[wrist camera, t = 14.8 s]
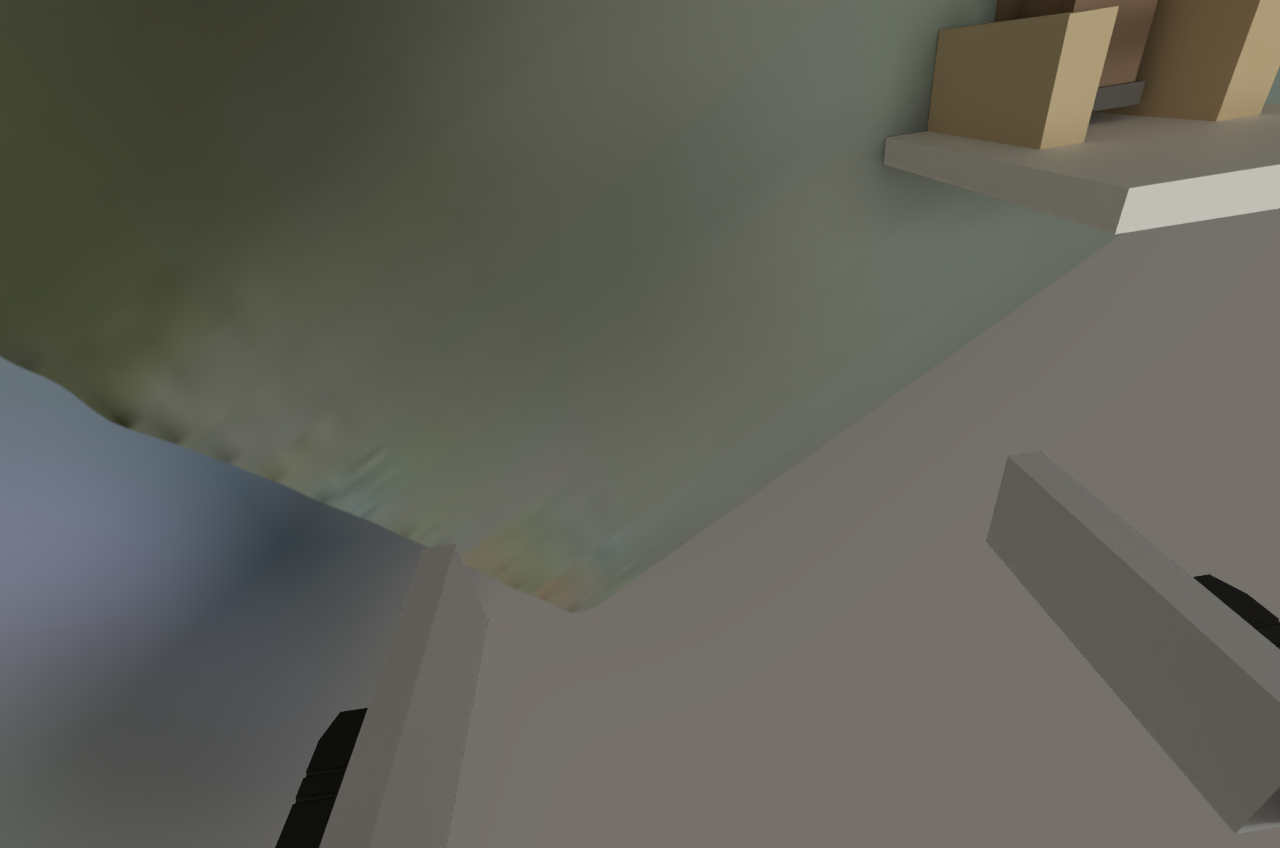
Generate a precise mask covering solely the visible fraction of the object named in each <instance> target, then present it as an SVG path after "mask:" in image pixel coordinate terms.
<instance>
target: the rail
mask: <svg viewBox="0 0 1280 848" xmlns="http://www.w3.org/2000/svg"><path fill="white" fill-rule="evenodd" d="M1157 2H1158V0H998V2H997V8H996V15H995V21H994V22H1001V21H1008V20H1016V19H1024V18H1031V17H1039V16H1046V15H1054V14H1062V13H1069V12H1077V11H1084V10H1092V9H1099V8H1107V7H1115V6H1119V9H1118V12H1117V16H1116V20H1115V24H1114V28H1113V32H1112V36H1111V39H1110V43H1109V47H1108V51H1107V55H1106V59H1105V63H1104V66H1103V70H1102V74H1101V78H1100V82H1099V86H1098V90H1097V93H1096V97H1095V101H1094V105H1093V109H1092V111H1099V110H1105V109H1111V108H1117V107H1124V106H1130V105H1136V104H1139V101H1140V98H1141V95H1142V91H1143V88H1144V84H1145V81H1135V79H1136V75H1137V72H1138V68H1139V65H1140V61H1141V58H1142V54H1143V51H1144V47H1145V44H1146V41H1147V37H1148V34H1149V30H1150V27H1151V23H1152V20H1153V16H1154V13H1155V9H1156V6H1157Z"/></svg>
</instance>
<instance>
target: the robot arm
mask: <svg viewBox="0 0 1280 848" xmlns="http://www.w3.org/2000/svg"><path fill="white" fill-rule="evenodd" d="M986 542H987V543H988V545H989V546H990V547H991V548H992V549H993V550H994V552H996V554H997V555H998V556H999V557H1000V559H1001V560H1002V561H1003V562H1004V563H1005V565H1006V566H1007V567H1008V568H1009V569H1010V570H1011V571H1012V573H1013V574H1014V575H1015V576H1016V577H1017V579H1018V580H1019V581H1020V582H1021V583H1022V584H1023V586H1024V587H1025V588H1026V589H1027V590H1028V591H1029V593H1030V594H1031V595H1032V596H1033V597H1034V599H1035V600H1036V601H1037V602H1038V603H1039V604H1040V606H1041V607H1042V608H1043V609H1044V610H1045V611H1046V613H1047V614H1048V615H1049V616H1050V617H1051V619H1052V620H1053V621H1054V622H1055V623H1056V624H1057V626H1058V627H1059V628H1060V629H1061V630H1062V631H1063V633H1064V634H1065V635H1066V636H1067V637H1068V638H1069V640H1070V641H1071V642H1072V643H1073V644H1074V645H1075V647H1076V648H1077V649H1078V650H1079V651H1080V653H1081V654H1082V655H1083V656H1084V657H1085V658H1086V660H1087V661H1088V662H1089V663H1090V664H1091V665H1092V666H1093V668H1094V669H1095V670H1096V671H1097V672H1098V674H1099V675H1100V676H1101V677H1102V678H1103V679H1104V681H1105V682H1106V683H1107V684H1108V685H1109V687H1110V688H1111V689H1112V690H1113V691H1114V692H1115V694H1116V695H1117V696H1118V697H1119V698H1120V700H1121V701H1122V702H1123V703H1124V704H1125V705H1126V707H1127V708H1128V709H1129V710H1130V711H1131V712H1132V714H1133V715H1134V716H1135V717H1136V718H1137V719H1138V721H1139V722H1140V723H1141V724H1142V725H1143V726H1144V728H1145V729H1146V730H1147V731H1148V732H1149V734H1150V735H1151V736H1152V737H1153V738H1154V739H1155V741H1156V742H1157V743H1158V744H1159V745H1160V746H1161V747H1162V749H1163V750H1164V751H1165V752H1166V754H1167V755H1168V756H1169V757H1170V758H1171V759H1172V760H1173V762H1174V763H1175V764H1176V765H1177V766H1178V768H1179V769H1180V770H1181V771H1182V772H1183V773H1184V775H1185V776H1186V777H1187V778H1188V779H1189V780H1190V781H1191V783H1192V784H1193V785H1194V786H1195V788H1196V789H1197V790H1198V791H1199V792H1200V793H1201V794H1202V796H1203V797H1204V798H1205V799H1206V800H1207V802H1208V803H1209V804H1210V805H1211V806H1212V808H1213V809H1214V810H1215V811H1216V812H1217V813H1218V814H1219V816H1220V817H1221V818H1222V819H1223V820H1224V822H1225V823H1226V824H1227V825H1228V826H1229V827H1230V829H1231V830H1232V831H1233V832H1234V833H1235V834H1237V833H1243V832H1250V831H1257V830H1263V829H1270V828H1276V827H1280V622H1279V619H1278V618H1277V617H1276V616H1275V615H1273V614H1272V613H1271V612H1269V611H1268V610H1267V609H1266V608H1264V607H1263V606H1262V605H1261V604H1259V603H1258V602H1257V601H1256V600H1254V599H1253V598H1252V597H1250V596H1249V595H1248V594H1246V593H1244V592H1242V591H1240V590H1239V589H1237V588H1235V587H1233V586H1231V585H1229V584H1227V583H1225V582H1223V581H1221V580H1219V579H1217V578H1215V577H1213V576H1211V575H1203V576H1197V577H1192V576H1191V575H1189V574H1188V573H1187V572H1186V571H1185V570H1183V569H1182V568H1181V567H1180V566H1179V565H1177V564H1176V563H1175V562H1174V561H1173V560H1171V559H1170V558H1169V557H1168V556H1167V555H1165V554H1164V553H1163V552H1162V551H1160V550H1159V549H1158V548H1157V547H1156V546H1155V545H1153V544H1152V543H1151V542H1150V541H1149V540H1147V539H1146V538H1145V537H1144V536H1143V535H1141V534H1140V533H1139V532H1138V531H1137V530H1135V529H1134V528H1133V527H1132V526H1130V525H1129V524H1128V523H1127V522H1126V521H1124V520H1123V519H1122V518H1121V517H1120V516H1118V515H1117V514H1116V513H1115V512H1114V511H1112V510H1111V509H1110V508H1109V507H1107V506H1106V505H1105V504H1104V503H1103V502H1102V501H1100V500H1099V499H1098V498H1097V497H1095V496H1094V495H1093V494H1092V493H1091V492H1090V491H1088V490H1087V489H1086V488H1085V487H1084V486H1082V485H1081V484H1080V483H1079V482H1077V481H1076V480H1075V479H1074V478H1073V477H1072V476H1070V475H1069V474H1068V473H1067V472H1065V471H1064V470H1063V469H1062V468H1060V467H1059V466H1058V465H1057V464H1056V463H1055V462H1053V461H1052V460H1051V459H1050V458H1049V457H1047V456H1046V455H1045V454H1044V453H1043V452H1041V451H1037V452H1030V453H1024V454H1018V455H1012V456H1008V458H1007V462H1006V466H1005V470H1004V474H1003V478H1002V481H1001V485H1000V489H999V493H998V497H997V501H996V505H995V508H994V512H993V516H992V520H991V524H990V528H989V532H988V535H987V539H986ZM487 625H488V618H487V615H486V613H485V611H484V609H483V606H482V604H481V602H480V599H479V597H478V595H477V593H476V590H475V588H474V586H473V583H472V581H471V579H470V576H469V574H468V572H467V569H466V567H465V565H464V563H463V560H462V558H461V556H460V553H459V551H458V549H457V546H456V544H453V545H447V546H440V547H434V548H428V549H424V550H423V552H422V555H421V558H420V561H419V564H418V567H417V569H416V572H415V575H414V578H413V581H412V584H411V586H410V590H409V592H408V595H407V598H406V601H405V604H404V607H403V609H402V612H401V615H400V618H399V621H398V624H397V626H396V629H395V632H394V635H393V638H392V641H391V644H390V646H389V649H388V652H387V655H386V658H385V661H384V664H383V666H382V670H381V672H380V675H379V678H378V681H377V684H376V686H375V689H374V692H373V695H372V698H371V701H370V704H369V706H368V708H364V709H358V710H351V711H344V712H340V713H339V714H338V716H337V717H336V718H335V720H334V721H333V722H332V724H331V725H330V726H329V728H328V729H327V730H326V732H325V733H324V734H323V736H322V737H321V738H320V740H319V741H318V744H317V747H316V749H315V751H314V754H313V756H312V759H311V761H310V764H309V766H308V768H307V771H306V773H307V775H306V778H303V781H302V783H301V786H300V788H299V791H298V793H297V795H296V803H295V804H293V805H292V808H291V810H290V813H289V815H288V818H287V820H286V823H285V825H284V828H283V830H282V833H281V835H280V838H279V840H278V842H277V845H276V847H275V848H446V847H447V842H448V836H449V831H450V825H451V820H452V814H453V809H454V803H455V798H456V793H457V788H458V782H459V777H460V771H461V766H462V760H463V755H464V750H465V744H466V739H467V734H468V728H469V723H470V717H471V711H472V706H473V701H474V696H475V690H476V685H477V680H478V674H479V669H480V663H481V658H482V653H483V646H484V641H485V636H486V630H487Z"/></svg>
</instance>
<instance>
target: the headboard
mask: <svg viewBox="0 0 1280 848" xmlns="http://www.w3.org/2000/svg"><path fill="white" fill-rule="evenodd" d="M1118 9H1119V6H1115V7H1107V8H1099V9H1092V10H1084V11H1077V12H1069V13H1062V14H1054V15H1046V16H1039V17H1031V18H1024V19H1016V20H1008V21H1001V22H993V23H986V24H978V25H971V26H965V27H959V28H953V29H946V30H940V31H939V37H938V45H937V53H936V61H935V69H934V77H933V86H932V94H931V102H930V110H929V118H928V126H927V131H924V132H917V133H911V134H905V135H899V136H892V137H886V141H885V152H884V165H887V166H890V167H894V168H897V169H900V170H903V171H907V172H910V173H913V174H917V175H920V176H923V177H927V178H930V179H933V180H937V181H940V182H943V183H947V184H950V185H953V186H957V187H960V188H963V189H967V190H970V191H973V192H976V193H980V194H983V195H986V196H990V197H993V198H996V199H1000V200H1003V201H1006V202H1010V203H1013V204H1016V205H1020V206H1023V207H1026V208H1030V209H1033V210H1036V211H1040V212H1043V213H1046V214H1049V215H1053V216H1056V217H1059V218H1063V219H1066V220H1069V221H1073V222H1076V223H1079V224H1083V225H1086V226H1089V227H1093V228H1096V229H1099V230H1103V231H1106V232H1109V233H1113V234H1120V233H1126V232H1132V231H1138V230H1145V229H1151V228H1158V227H1164V226H1170V225H1176V224H1182V223H1189V222H1195V221H1202V220H1208V219H1214V218H1221V217H1227V216H1234V215H1239V214H1246V213H1252V212H1259V211H1265V210H1271V209H1278V208H1280V104H1266V103H1265V101H1266V99H1267V96H1268V94H1269V91H1270V89H1271V86H1272V84H1273V81H1274V79H1275V76H1276V74H1277V71H1278V69H1279V66H1280V0H1158V2H1157V6H1156V9H1155V13H1154V16H1153V20H1152V23H1151V27H1150V30H1149V34H1148V37H1147V41H1146V44H1145V47H1144V51H1143V54H1142V58H1141V61H1140V65H1139V68H1138V72H1137V75H1136V79H1135V81H1145V84H1144V88H1143V91H1142V95H1141V98H1140V101H1139V104H1136V105H1130V106H1124V107H1117V108H1111V109H1105V110H1099V111H1092V109H1093V105H1094V101H1095V97H1096V93H1097V90H1098V86H1099V82H1100V78H1101V74H1102V70H1103V66H1104V63H1105V59H1106V55H1107V51H1108V47H1109V43H1110V39H1111V36H1112V32H1113V28H1114V24H1115V20H1116V16H1117V12H1118Z"/></svg>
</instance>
